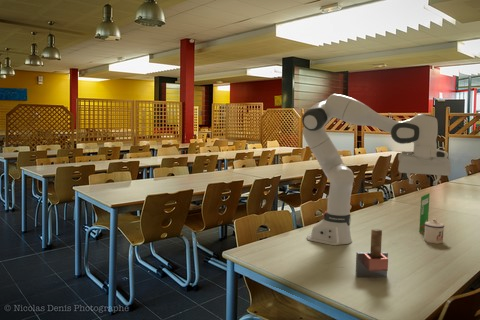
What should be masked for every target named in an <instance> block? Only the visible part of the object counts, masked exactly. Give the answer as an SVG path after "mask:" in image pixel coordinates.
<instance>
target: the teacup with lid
mask: <svg viewBox="0 0 480 320" xmlns="http://www.w3.org/2000/svg"><path fill="white" fill-rule="evenodd" d="M444 229H445V225H444V223H443V222H440V221H438V220H437V219H436V218H432V220H430V221H429V220H428V222H425V229H424V235H423V236H424V237H423V241H424V242H427V243H430V244H436V245H437V244H442V243H444Z"/></svg>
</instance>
